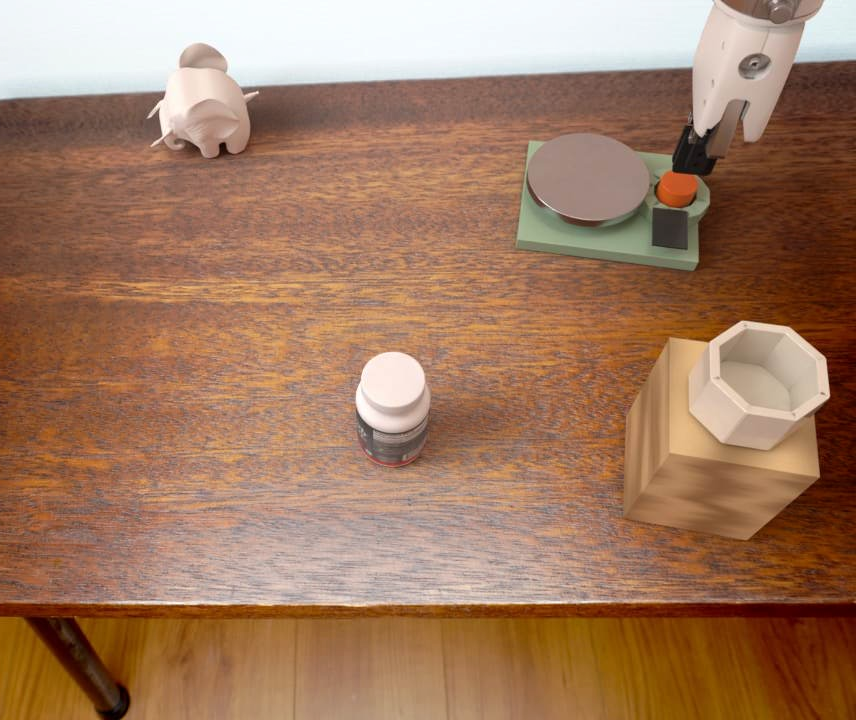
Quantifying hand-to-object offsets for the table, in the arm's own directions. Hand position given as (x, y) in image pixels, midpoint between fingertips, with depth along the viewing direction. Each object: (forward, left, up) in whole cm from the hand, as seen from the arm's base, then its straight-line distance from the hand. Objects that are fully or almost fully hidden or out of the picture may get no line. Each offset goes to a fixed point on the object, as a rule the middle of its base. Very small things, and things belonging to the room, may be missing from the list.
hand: (690, 167), depth 72 cm
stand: (-1, +27, -7) cm, 27 cm away
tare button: (0, 0, -4) cm, 4 cm away
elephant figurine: (+47, -3, -7) cm, 47 cm away
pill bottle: (+22, +28, -7) cm, 36 cm away
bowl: (-1, +27, +5) cm, 27 cm away
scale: (+6, 0, -7) cm, 9 cm away
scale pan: (+6, 0, -4) cm, 7 cm away
